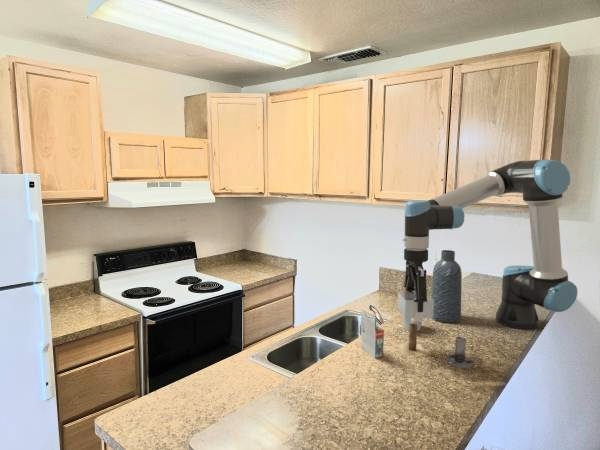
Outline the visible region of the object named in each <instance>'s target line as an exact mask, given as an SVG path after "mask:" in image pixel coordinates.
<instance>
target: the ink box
mask: <svg viewBox="0 0 600 450" xmlns="http://www.w3.org/2000/svg"><path fill="white" fill-rule="evenodd" d="M368 316H369V317H368ZM370 317H371V318H370ZM360 326H361V327H360V328H361V329H360V333H361V334H360V349H361V350H362V351H363V352H365V353H366V354H368V355H370V356H371V357H373V358H374V359H379V358H382V357H384V344H385V343H384V338H385V330H384V329H383V328H381V327H379V326H378V325H377V316H375V315H373V314H371V313H369V312H367V311H366V310H364V309H361V324H360Z"/></svg>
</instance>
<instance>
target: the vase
mask: <svg viewBox="0 0 600 450" xmlns="http://www.w3.org/2000/svg"><path fill="white" fill-rule="evenodd" d="M455 251H456V250H455ZM455 251H454V250H450V249H448V250H447V249H445V250H444V249H443V250H441V254H440V255H441V257H440V259H439V260H438V261H437V262H436V263H435V264H434V267H433V271H432V280H431V281H432V282H431V291H430V293H431V294H430V297H431V298H432V299H433V300H434V310H433V318H431V319H433V320H435V321H437V322H440V323H446V324H447V323H451V324H452V323H453V324H454V323H458V322H460V321H461V319H462V290H463V289H462V288H463V287H462V285H463V283H462V282H463V281H462V280H463V278H462V277H463V276H462V267H461V266H460V264H459V263H458V262H457V261H456V260H455V257H456V252H455Z"/></svg>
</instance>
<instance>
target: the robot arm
mask: <svg viewBox="0 0 600 450" xmlns="http://www.w3.org/2000/svg"><path fill="white" fill-rule="evenodd" d="M570 183H571V174H570V171H569V168H568V167H567V166H566V164H564V163H563V162H561V161H560V160H556V159H547V158H545V159H544V158H543V159H531V160H518V161H513V162H511V163H508V164H506V165H503V166H500V167H499V168H496V169H493V170H491V171H489V172H488V173H486V174H485V175H484V177H482V178H479V179H477V180H474V181H472V182H469V183H467V184H465V185H462V186H460V187H458V188H456V189H453V190H450V191H447V192H446V193H443V194H440V195H439V196H436V197H433V198H431V199H428V200H408V201H407V202H406V203H405V208H404V238H402V241H403V242H404V250H403V260H404V261H406V262H405V272H404V273H405V274H404V275H405V276H404V283H403V287H404V288H405V292H414V291H415V295H416V300H414V302H415V313H414V321H422V322H424V319H425V318H424V302H427V294H428V293H427V291H428V290H427V272H428V271H427V269H424V266H423V263H426V262H428V260H429V250H428V248H429V247H430V246H429V245H430V244H429V243H430V231H432V230H453V229H459V228H461V227H462V226H463V225H464V222H465V212H464V210H463V209H464V208H467V207H469V206H472V205H474V204H477V203H479V202H481V201H484V200H485V199H489V198H490V197H493V196H495V197H499V196H502V195H506V194H512V193H513V194H514V193H517V194H518V193H519V194H522V201H523V202H524V203H526V205H528V213H529V214H528V215H529V227H530V238H531V239H530V240H531V248H532V262H533V264H532V265H533V266H532V265H508V266H506V267H504V269H503V274H502V285H501V302H500V304H499V306H498V308H497V310H496V312H495V320H496V322H497V323H499V324H501V325H503V326H507V327H509V328H513V329H514V328H515V329H521V330H534V329H537V328H538V327H539V323H540V322H539V321H540V320H539V316H538V312H537V308H536V306H539V307H542V308H544V309H545V310H548V311H553V312H556V313H557V312H558V313H561V312H565V311H567V310H568V309H570V308H571V307H572V306H573V304H574V303H575V302H576V300H577V297H578V287H577V285H576V284H575V283H574V282H572V281H570V280H569V274H568V271H567V270H566V269H564V268H563V262H562V247H561V245H562V244H561V232H560V218H559V206H558V204H559V202H560V200H562V198H563V197H564V196H563V193H566V191H568V189H569V187H568V186H570ZM535 305H536V306H535Z"/></svg>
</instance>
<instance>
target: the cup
mask: <svg viewBox="0 0 600 450" xmlns="http://www.w3.org/2000/svg"><path fill="white" fill-rule="evenodd" d="M401 319H402V320H401V322H402V328H403V330H406V331H409V327H410V324H412V323H413V324H417V332H418V331H420V330H421V329H422V324H423V321H414V318H406V319H405V318H404V316H403V315H402V314H401Z"/></svg>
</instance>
